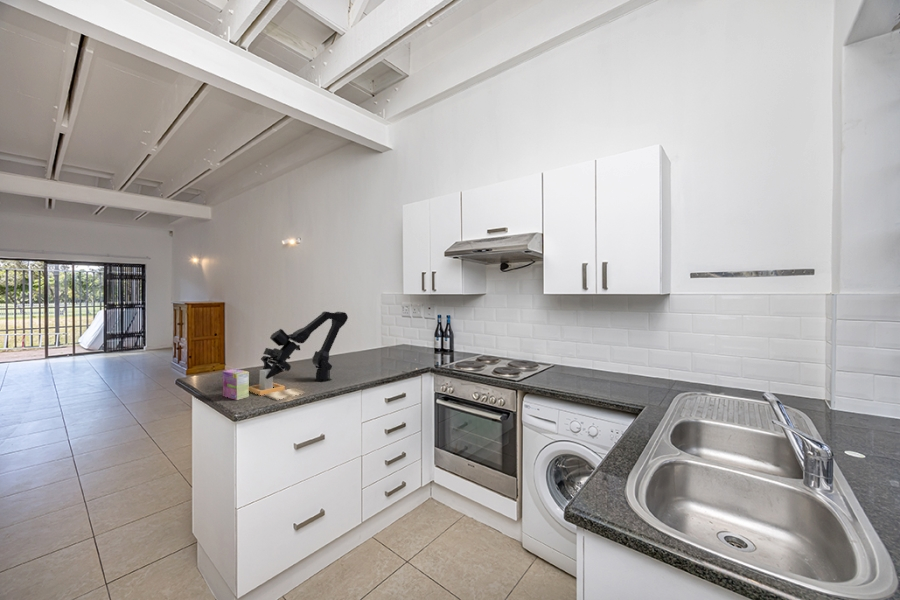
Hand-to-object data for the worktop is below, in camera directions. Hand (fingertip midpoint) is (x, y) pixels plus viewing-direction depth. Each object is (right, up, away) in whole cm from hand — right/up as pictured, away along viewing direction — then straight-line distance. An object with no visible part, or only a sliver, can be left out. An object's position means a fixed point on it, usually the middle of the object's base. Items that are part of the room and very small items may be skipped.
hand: (263, 377), depth 175 cm
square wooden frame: (+1, -7, +1) cm, 7 cm away
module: (+1, -7, +1) cm, 7 cm away
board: (+12, -7, -4) cm, 15 cm away
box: (-7, -7, -10) cm, 14 cm away
